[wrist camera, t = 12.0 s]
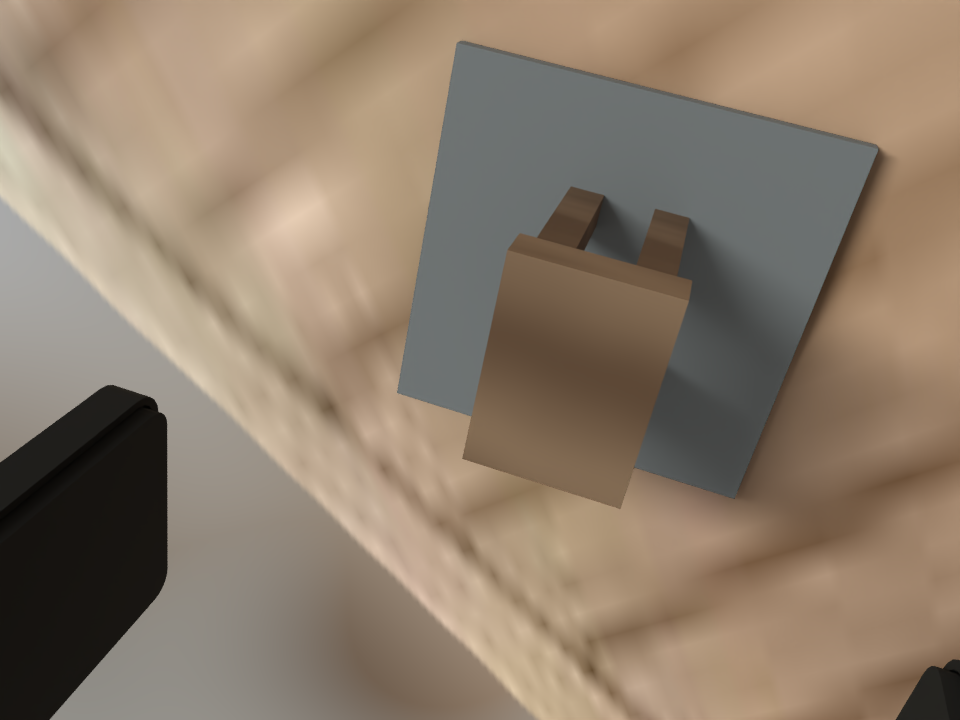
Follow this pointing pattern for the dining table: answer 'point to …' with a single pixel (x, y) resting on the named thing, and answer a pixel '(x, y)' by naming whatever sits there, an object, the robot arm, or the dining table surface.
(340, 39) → the dining table surface
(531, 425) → the walnut stool
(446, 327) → the slate mat
